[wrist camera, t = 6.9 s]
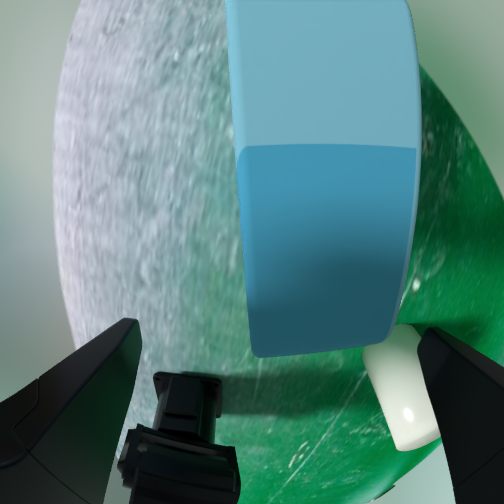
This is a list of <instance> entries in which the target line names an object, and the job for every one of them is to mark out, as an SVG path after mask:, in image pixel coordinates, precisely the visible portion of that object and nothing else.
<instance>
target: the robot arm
mask: <svg viewBox="0 0 504 504" xmlns="http://www.w3.org/2000/svg"><path fill="white" fill-rule="evenodd" d="M141 351H142V337H141V331H140V326H139V322H138V320H137V319H132V318H123V319H121V320H120V321H118V322H117V323H115V324H114V325H112V326H111V327H110V328H108V329H107V330H105V331H104V332H102V333H101V334H99V335H98V336H97V337H95V338H94V339H92V340H91V341H89V342H88V343H86V344H85V345H84V346H82V347H81V348H79V349H78V350H76V351H75V352H74V353H72V354H71V355H69V356H68V357H66V358H65V359H64V360H62V361H61V362H60V363H58V364H57V365H55V366H54V367H52V368H51V369H50V370H48V371H47V372H45V373H44V374H42V375H41V376H40V377H39V379H35V380H34V381H33V382H31V383H30V384H28V385H27V386H25V387H24V388H23V389H21V390H20V391H18V392H17V393H15V394H14V395H12V396H10V397H9V398H7V399H5V400H4V401H2V402H0V504H103V502H104V497H105V493H106V488H107V484H108V480H109V476H110V472H111V468H112V464H113V460H114V456H115V453H116V449H117V445H118V442H119V438H120V435H121V431H122V428H123V424H124V421H125V418H126V414H127V411H128V408H129V404H130V401H131V398H132V394H133V390H134V386H135V380H136V375H137V370H138V365H139V360H140V355H141ZM417 355H418V358H419V362H420V366H421V370H422V374H423V378H424V382H425V386H426V390H427V393H428V396H429V399H430V402H431V405H432V408H433V412H434V415H435V418H436V421H437V425H438V428H439V432H440V435H441V439H442V443H443V446H444V450H445V454H446V458H447V462H448V467H449V471H450V475H451V480H452V485H453V491H454V496H455V502H456V504H504V367H502V366H501V365H499V364H498V363H496V362H495V361H493V360H491V359H490V358H488V357H487V356H485V355H483V354H482V353H480V352H478V351H477V350H475V349H474V348H472V347H470V346H469V345H467V344H465V343H464V342H462V341H460V340H459V339H457V338H455V337H454V336H452V335H451V334H449V333H447V332H446V331H444V330H442V329H441V328H439V327H429V328H427V329H426V330H425V332H424V334H423V336H422V338H421V340H420V342H419V344H418V346H417ZM153 381H154V385H155V389H156V394H157V398H158V405H157V410H156V414H155V418H154V422H153V427H152V428H148V427H145V426H143V425H142V424H139V423H137V427H136V429H135V428H134V429H128V433H127V436H126V440H125V443H124V447H123V449H122V452H121V455H120V458H119V461H118V464H117V468H118V470H119V471H120V473H121V474H122V479H123V487H125V488H129V489H132V491H131V496H130V501H129V504H237V502H238V500H239V496H240V490H241V480H240V474H239V468H238V463H237V457H236V451H235V447H234V446H222V445H217V444H214V441H215V425H216V418H220V417H221V389H222V382H221V380H219V379H213V378H200V377H190V376H180V375H172V374H164V373H155V374H154V376H153ZM140 450H141V451H140Z"/></svg>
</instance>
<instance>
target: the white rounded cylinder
mask: <svg viewBox="0 0 504 504" xmlns="http://www.w3.org/2000/svg"><path fill="white" fill-rule="evenodd" d="M420 340H421V337H420V335H419V334H418V332H417V331H416V330H415V328H414V327H413V326H411V325H408V324H397V325H395V326H394V329H393V331H392V333H391V334H390V336H389V337H388V338H387V339H386V340H385V341H383V342H381V343H378V344H373V345H367V346H366V347H365V349H364V351H363V354H362V360H363V363H364V366H365V368H366V370H367V373H368V375H369V378H370V380H371V383H372V385H373V387H374V390H375V392H376V395H377V398H378V400H379V403H380V405H381V408H382V410H383V413H384V416H385V418H386V421H387V423H388V426H389V429H390V431H391V434H392V437H393V440H394V442H395V445H396V448H397V449H398V450H399V451H408V450H413V449H416V448H419V447H421V446H424V445H426V444H428V443H430V442H432V441H434V440H435V439H437V438H439V437H440V436H441V435H440V432H439V428H438V425H437V421H436V418H435V415H434V412H433V408H432V405H431V402H430V399H429V396H428V393H427V390H426V386H425V382H424V378H423V374H422V370H421V366H420V362H419V358H418V355H417V346H418V344H419V342H420Z"/></svg>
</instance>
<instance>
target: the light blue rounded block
mask: <svg viewBox="0 0 504 504" xmlns="http://www.w3.org/2000/svg"><path fill="white" fill-rule="evenodd" d="M225 10H226V26H227V42H228V58H229V73H230V87H231V102H232V116H233V130H234V144H235V157H236V171H237V184H238V197H239V210H240V222H241V235H242V247H243V259H244V271H245V283H246V295H247V306H248V318H249V329H250V340H251V349H252V352H253V354H254V355H255V356H256V357H259V358H265V357H278V356H289V355H299V354H309V353H318V352H326V351H333V350H341V349H348V348H354V347H361V346H367V345H373V344H378V343H381V342H383V341H385V340H386V339H387V338H388V337H389V336H390V334H391V333H392V331H393V329H394V326H395V323H396V320H397V316H398V312H399V308H400V304H401V299H402V295H403V291H404V286H405V281H406V277H407V272H408V266H409V261H410V255H411V250H412V243H413V237H414V230H415V223H416V215H417V206H418V196H419V185H420V171H421V148H422V108H421V86H420V73H419V62H418V53H417V45H416V38H415V31H414V25H413V19H412V14H411V11H410V8H409V5H408V3H407V1H406V0H225Z"/></svg>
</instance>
